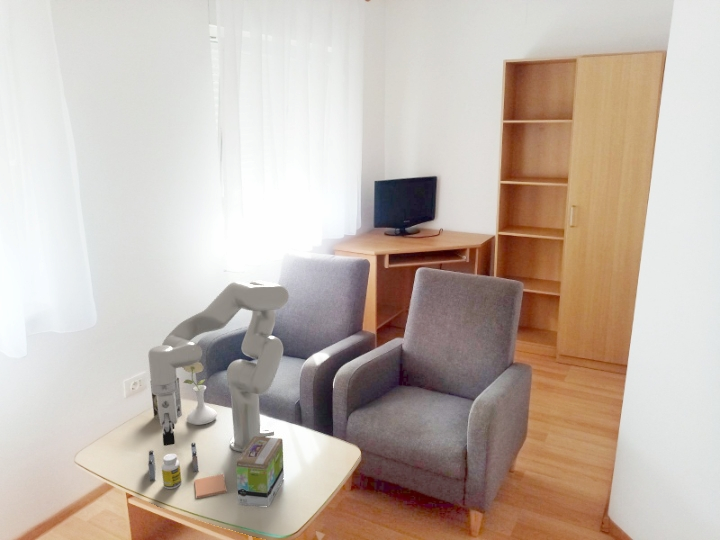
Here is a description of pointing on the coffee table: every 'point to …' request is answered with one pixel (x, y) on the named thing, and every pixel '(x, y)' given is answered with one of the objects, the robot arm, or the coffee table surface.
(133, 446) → the coffee table surface
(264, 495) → the tea box
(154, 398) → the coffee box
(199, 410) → the flower in vase
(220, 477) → the coaster
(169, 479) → the supplement bottle
